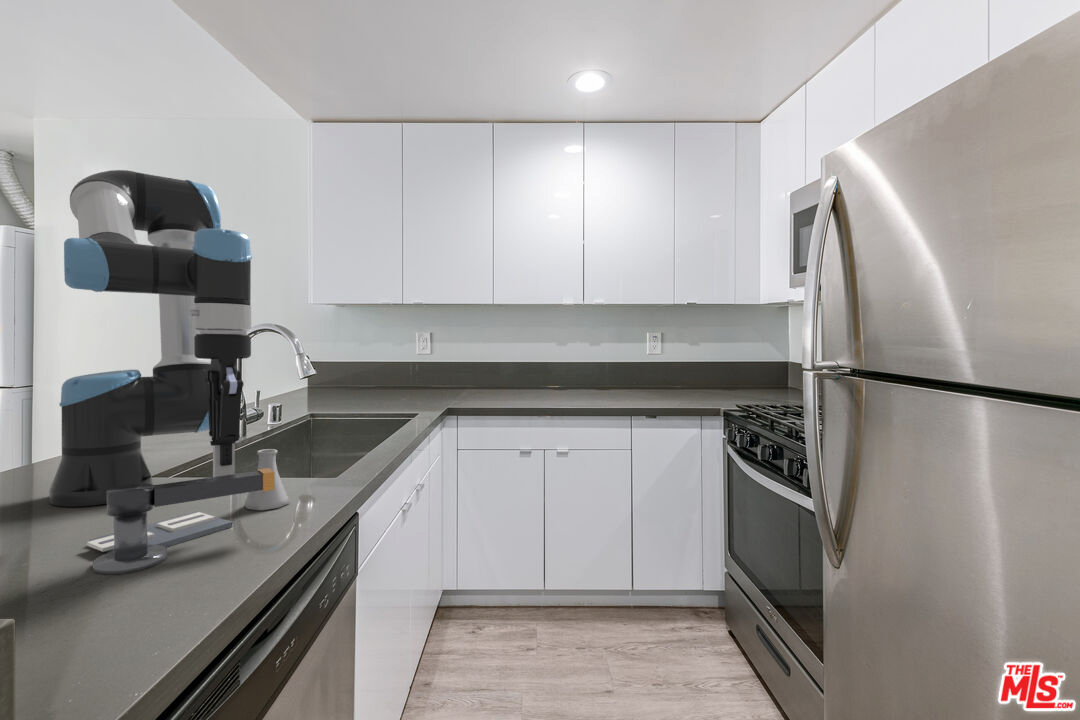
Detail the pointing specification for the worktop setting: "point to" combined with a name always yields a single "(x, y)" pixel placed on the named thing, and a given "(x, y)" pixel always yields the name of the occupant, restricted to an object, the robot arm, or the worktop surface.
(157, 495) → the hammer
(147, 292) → the robot arm
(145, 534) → the round pedestal stand
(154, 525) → the label board
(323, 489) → the worktop surface
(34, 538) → the worktop surface
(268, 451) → the flask
